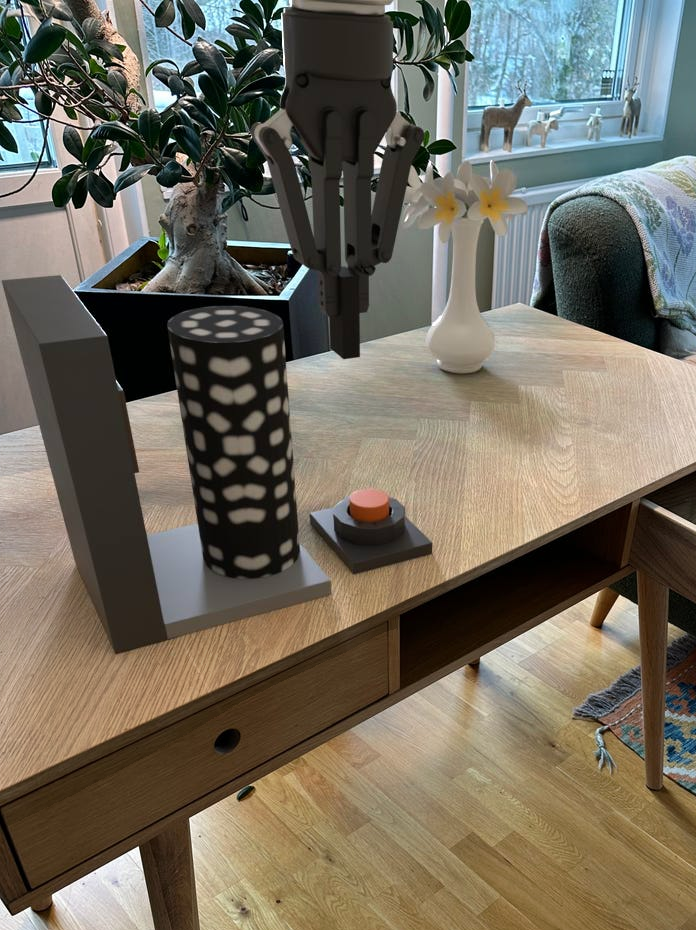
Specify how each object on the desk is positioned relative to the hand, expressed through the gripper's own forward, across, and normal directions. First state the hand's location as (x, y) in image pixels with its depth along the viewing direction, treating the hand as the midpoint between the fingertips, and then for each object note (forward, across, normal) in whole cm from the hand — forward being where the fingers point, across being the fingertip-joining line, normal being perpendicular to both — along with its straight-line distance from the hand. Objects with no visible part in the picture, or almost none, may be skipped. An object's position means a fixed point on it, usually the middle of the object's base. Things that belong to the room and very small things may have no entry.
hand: (345, 352), depth 74 cm
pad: (+17, -1, +2) cm, 17 cm away
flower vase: (+17, -31, -34) cm, 49 cm away
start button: (+15, -1, +2) cm, 15 cm away
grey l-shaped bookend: (+17, +15, +2) cm, 23 cm away
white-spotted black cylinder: (+16, +10, +2) cm, 19 cm away
